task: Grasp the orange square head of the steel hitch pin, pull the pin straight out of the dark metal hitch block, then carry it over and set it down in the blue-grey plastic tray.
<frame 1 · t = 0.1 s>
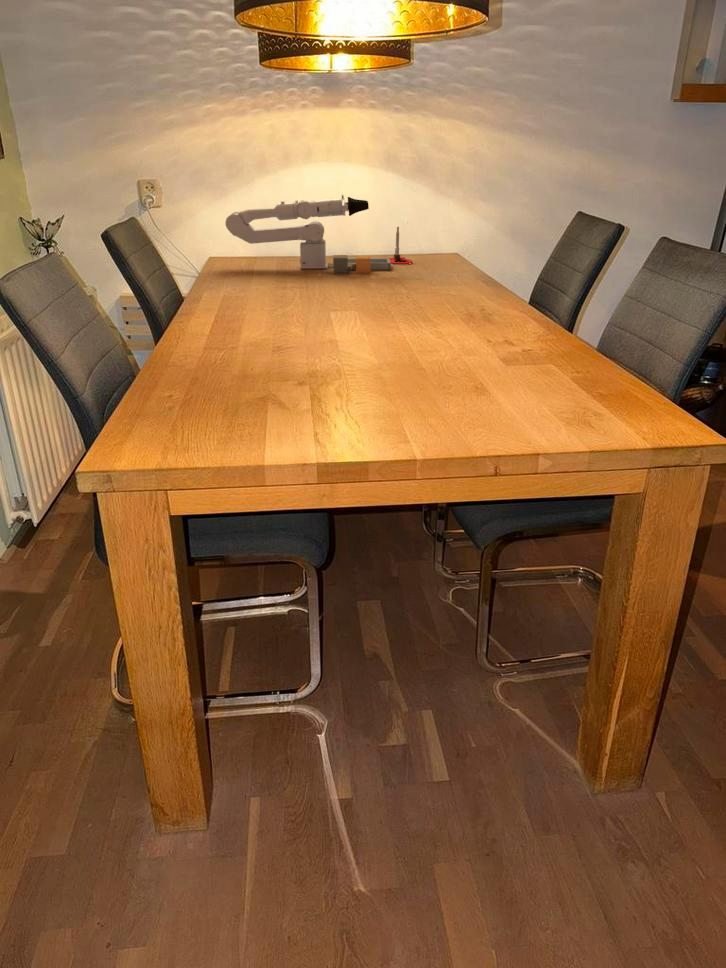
hand: (368, 204, 264), 22 cm above the table, tool horizontal, fingers open, 7 cm apart
hitch pin: (363, 272, 263), on the table
hitch block: (340, 272, 263), on the table
tray: (362, 267, 272), on the table
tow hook: (400, 263, 283), on the table
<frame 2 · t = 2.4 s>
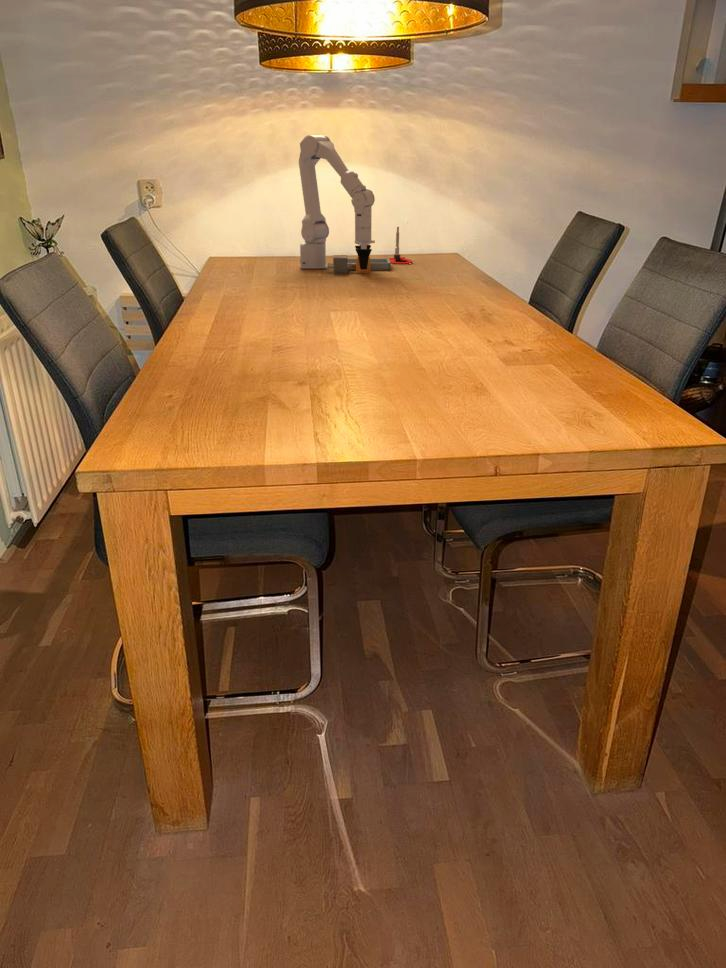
hand: (363, 267, 263), 2 cm above the table, tool pointing down, fingers open, 6 cm apart
nothing on the table moved.
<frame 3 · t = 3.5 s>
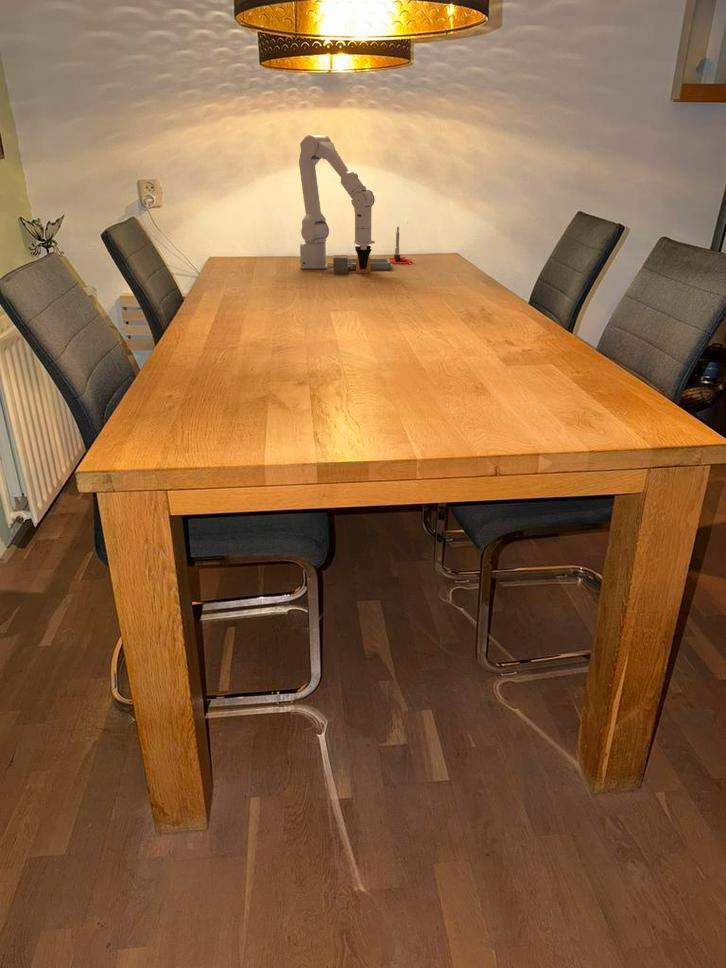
hand: (363, 268, 263), 1 cm above the table, tool pointing down, fingers closed on hitch pin, 4 cm apart
hitch pin: (363, 272, 263), on the table, touching gripper
everything else where it was.
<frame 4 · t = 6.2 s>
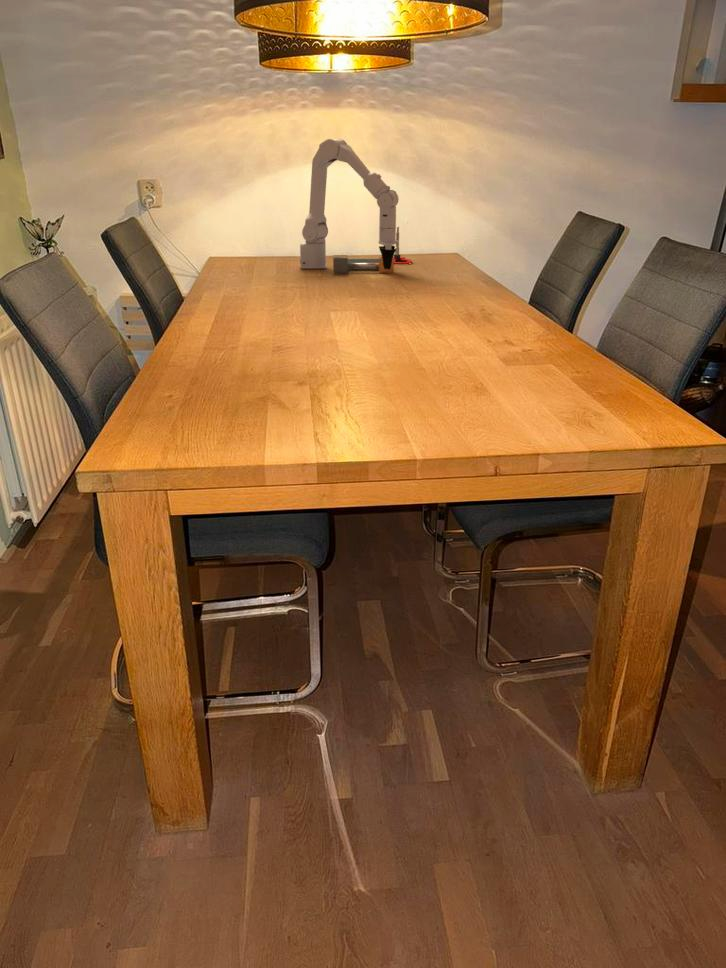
hand: (386, 268, 263), 1 cm above the table, tool pointing down, fingers closed on hitch pin, 4 cm apart
hitch pin: (386, 272, 263), on the table, touching gripper
everything else where it was.
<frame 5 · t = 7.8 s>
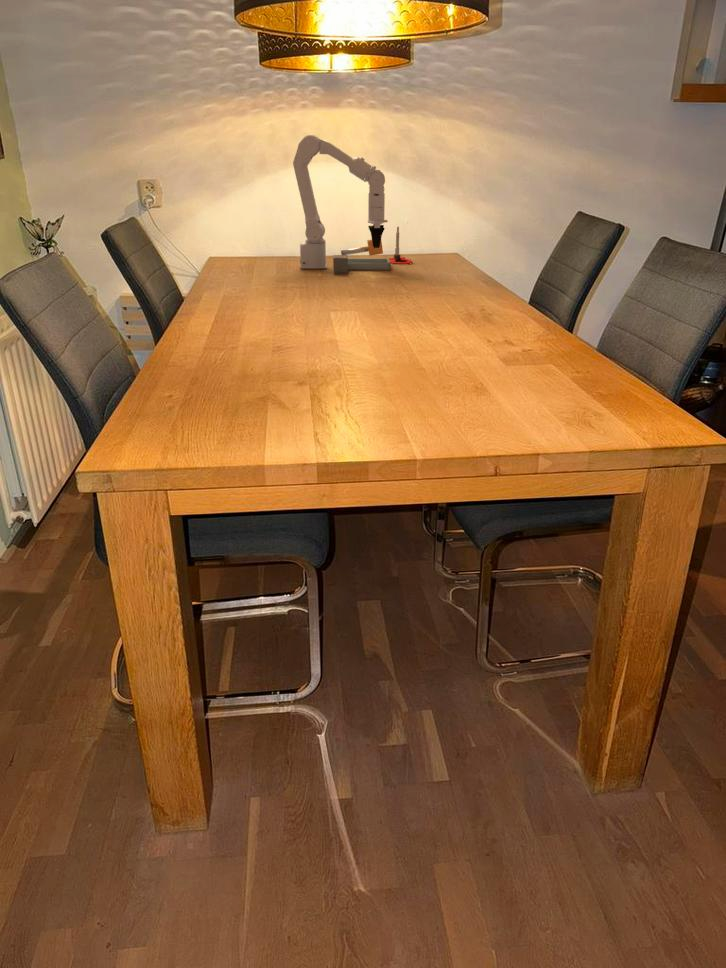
hand: (376, 246, 269), 7 cm above the table, tool pointing down, fingers closed on hitch pin, 4 cm apart
hitch pin: (376, 253, 270), point 5 cm above the table, tilted 9°, touching gripper
everything else where it was.
when the fingers open (4 cm above the table, at t = 9.2 s): hitch pin stays where it is, resting on tray.
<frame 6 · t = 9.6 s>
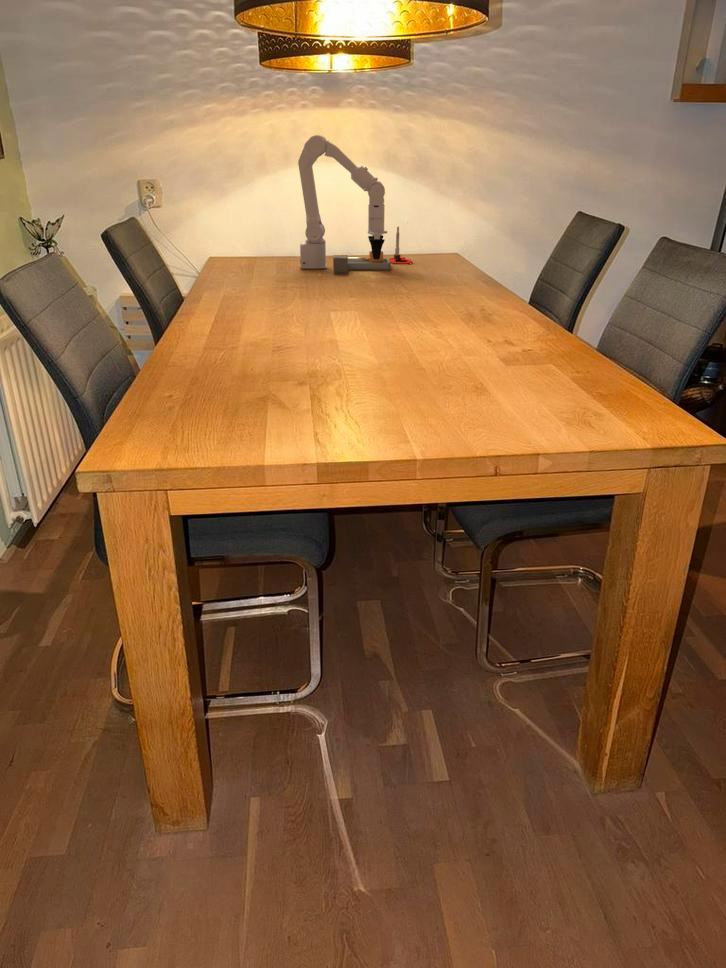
hand: (376, 257, 270), 4 cm above the table, tool pointing down, fingers open, 7 cm apart
hitch pin: (376, 266, 272), point 1 cm above the table, touching tray
everything else where it was.
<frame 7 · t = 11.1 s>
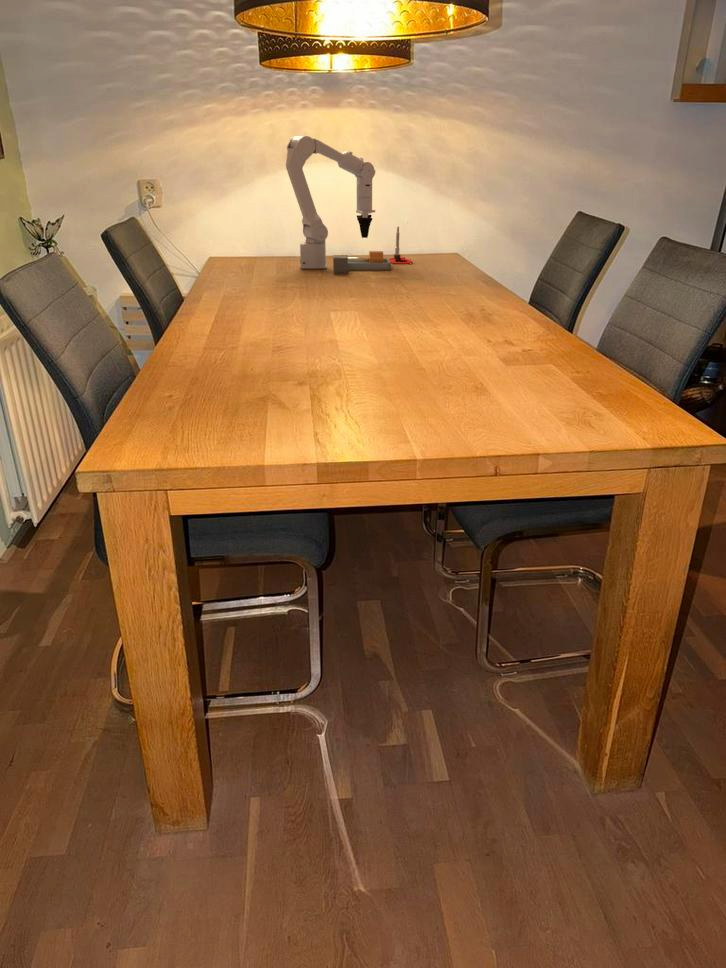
hand: (364, 236, 276), 10 cm above the table, tool pointing down, fingers open, 7 cm apart
nothing on the table moved.
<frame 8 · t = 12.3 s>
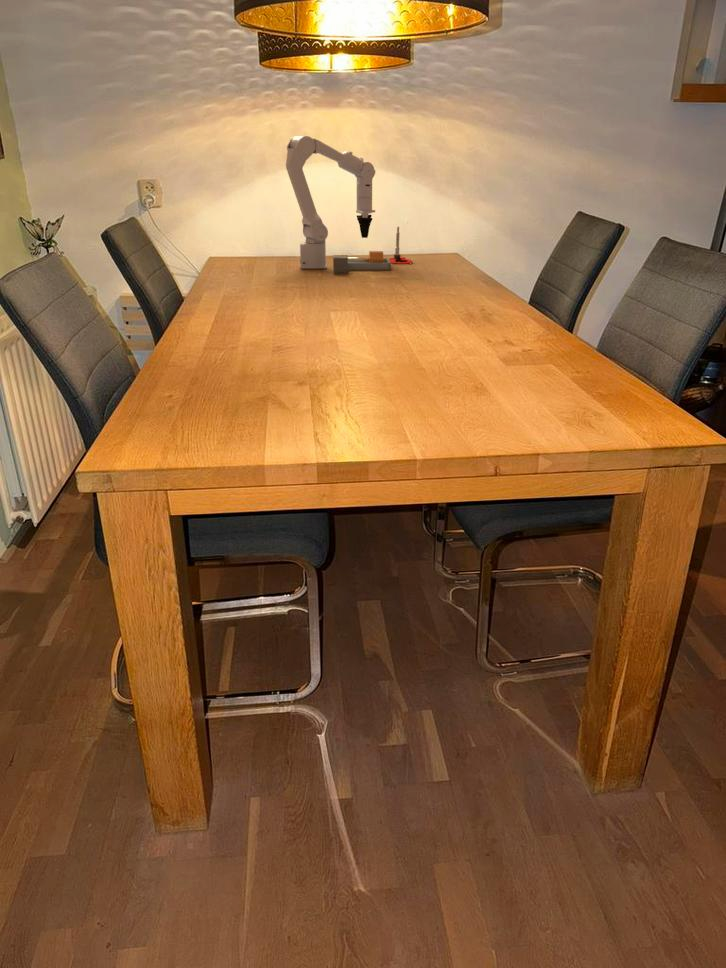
hand: (364, 236, 276), 10 cm above the table, tool pointing down, fingers open, 7 cm apart
nothing on the table moved.
at the end: hitch pin inside the target area on the tray (4.8 cm from its centre), point 0.6 cm above the tray's base; hitch pin moved 10.8 cm from its start; the gripper is holding nothing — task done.
